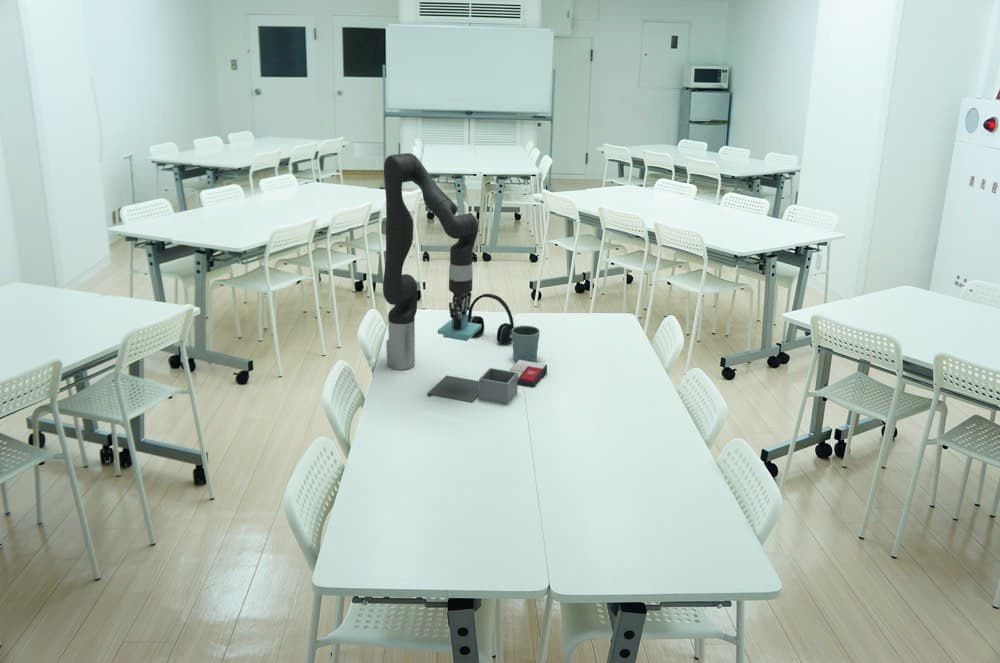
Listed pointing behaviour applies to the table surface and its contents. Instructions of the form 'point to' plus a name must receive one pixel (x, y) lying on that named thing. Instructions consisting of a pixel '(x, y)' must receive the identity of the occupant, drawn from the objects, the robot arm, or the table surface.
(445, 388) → the mat
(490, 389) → the box
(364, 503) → the table surface
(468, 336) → the lid
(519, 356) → the grey cup
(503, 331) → the headphones
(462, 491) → the table surface
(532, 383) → the calculator
